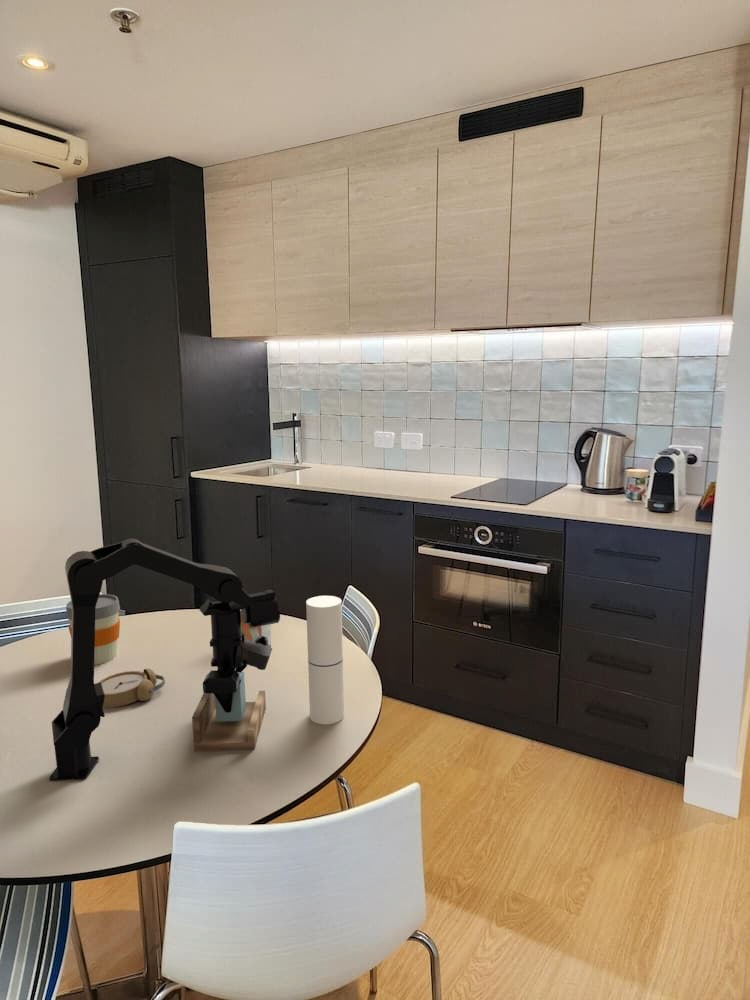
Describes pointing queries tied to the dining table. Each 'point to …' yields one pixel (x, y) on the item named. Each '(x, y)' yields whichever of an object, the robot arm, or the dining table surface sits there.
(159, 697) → the dining table surface
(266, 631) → the small box
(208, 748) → the cleat board
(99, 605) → the reusable coffee cup
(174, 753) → the dining table surface
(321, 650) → the cylindrical container
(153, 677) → the alarm clock
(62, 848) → the dining table surface
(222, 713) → the teal block
